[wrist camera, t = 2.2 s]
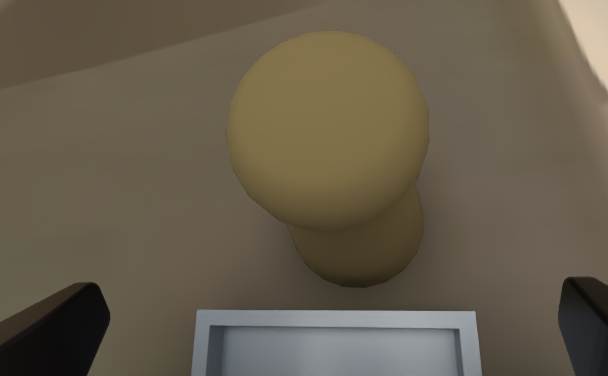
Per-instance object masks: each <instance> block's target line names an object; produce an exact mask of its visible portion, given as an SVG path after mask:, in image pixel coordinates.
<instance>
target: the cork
mask: <svg viewBox="0 0 608 376" xmlns="http://www.w3.org/2000/svg"><path fill="white" fill-rule="evenodd" d="M226 139H227V144H228V149H229V154H230V159H231V163H232V167H233V170H234V172H235V174H236V176H237V177H238V179H239V181H240V182H241V184H242V186H243V187H244V189H245V191H246V192H247V194H248V196H249V197H251V198H252V199H253V200H254V201H255V202H256V203H257V204H259V205H260V206H261V207H262V208H264V209H265V210H266V211H267V212H269V213H270V214H271V215H272V216H274V217H275V218H276V219H277V220H279V221H282V222H285V223H287V225H288V227H289V230H290V232H291V235H292V238H293V240H294V243H295V245H296V248H297V250H298V252H299V253H300V255H301V256H302V258H303V260H304V261H305V263H306V264H307V266H308V267H309V268H311V269H312V270H313V271H314V272H315V273H317V274H318V275H319V276H320V277H322V278H323V279H325V280H327V281H330V282H332V283H335V284H338V285H340V286H343V287H360V288H365V287H369V286H373V285H376V284H380V283H383V282H386V281H388V280H389V279H391V278H392V277H394V276H395V275H397V274H398V273H400V272H401V271H403V270H404V269H405V267H406V266H407V265H408V263H409V262H410V261H411V259H412V258H413V257H414V255H415V254H416V253H417V250H418V247H419V244H420V241H421V238H422V235H423V212H422V208H421V205H420V201H419V197H418V194H417V190H416V187H415V183H414V182H415V181H416V180H417V179H418V176H419V173H420V170H421V167H422V164H423V161H424V158H425V155H426V152H427V149H428V144H429V110H428V107H427V104H426V102H425V99H424V97H423V94H422V92H421V90H420V87H419V85H418V82H417V80H416V77H415V75H414V73H413V72H412V71H411V70H410V69H409V68H408V66H407V65H406V64H405V63H404V62H403V61H402V60H401V59H400V58H399V57H398V56H397V55H396V53H395V52H393V51H391V50H389V49H387V48H385V47H384V46H382V45H380V44H378V43H376V42H374V41H372V40H371V39H369V38H367V37H365V36H363V35H358V34H353V33H348V32H343V31H338V30H334V31H321V32H309V33H306V34H304V35H301V36H298V37H295V38H292V39H289V40H286V41H284V42H282V43H281V44H279V45H278V46H276V47H274V48H273V49H271V50H270V51H268V52H267V53H265V54H264V55H262V56H261V57H260V58H259V59H258V61H257V62H256V63H255V64H254V65H253V66H252V67H251V68H250V70H249V71H248V72H247V73H246V74H245V75H244V77H243V79H242V81H241V83H240V85H239V87H238V89H237V91H236V93H235V96H234V98H233V100H232V102H231V105H230V107H229V114H228V121H227V128H226Z"/></svg>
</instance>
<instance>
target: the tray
mask: <svg viewBox="0 0 608 376" xmlns="http://www.w3.org/2000/svg"><path fill="white" fill-rule="evenodd" d="M191 376H482V370H481V360H480V351H479V342H478V333H477V324H476V315H475V311H329V310H197V318H196V329H195V339H194V350H193V360H192V371H191Z"/></svg>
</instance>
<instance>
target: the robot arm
mask: <svg viewBox="0 0 608 376" xmlns="http://www.w3.org/2000/svg"><path fill="white" fill-rule="evenodd" d="M109 323H110V311H109V309H108V306H107V304H106V301H105V299H104V297H103V294H102V292H101V289H100V287H99V286H98V285H97V284H96V283H93V282H79V283H75V284H72V285H70V286H68V287H67V288H65V289H63V290H61V291H59V292H57V293H55V294H53V295H51V296H49V297H47V298H46V299H44V300H42V301H40V302H38V303H36V304H34V305H32V306H30V307H28V308H26V309H24V310H23V311H21V312H19V313H17V314H15V315H13V316H11V317H9V318H7V319H5V320H3V321H2V322H0V376H87V374H88V372H89V370H90V367H91V365H92V363H93V360H94V358H95V356H96V353H97V351H98V349H99V346H100V344H101V342H102V339H103V337H104V335H105V333H106V330H107V328H108V326H109ZM558 323H559V327H560V330H561V333H562V336H563V339H564V342H565V345H566V348H567V351H568V354H569V357H570V360H571V363H572V366H573V369H574V372H575V375H576V376H608V285H606V284H605V283H603V282H601V281H600V280H598V279H596V278H594V277H568V278H566V279H565V280H564V282H563V286H562V292H561V298H560V305H559V311H558Z"/></svg>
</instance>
